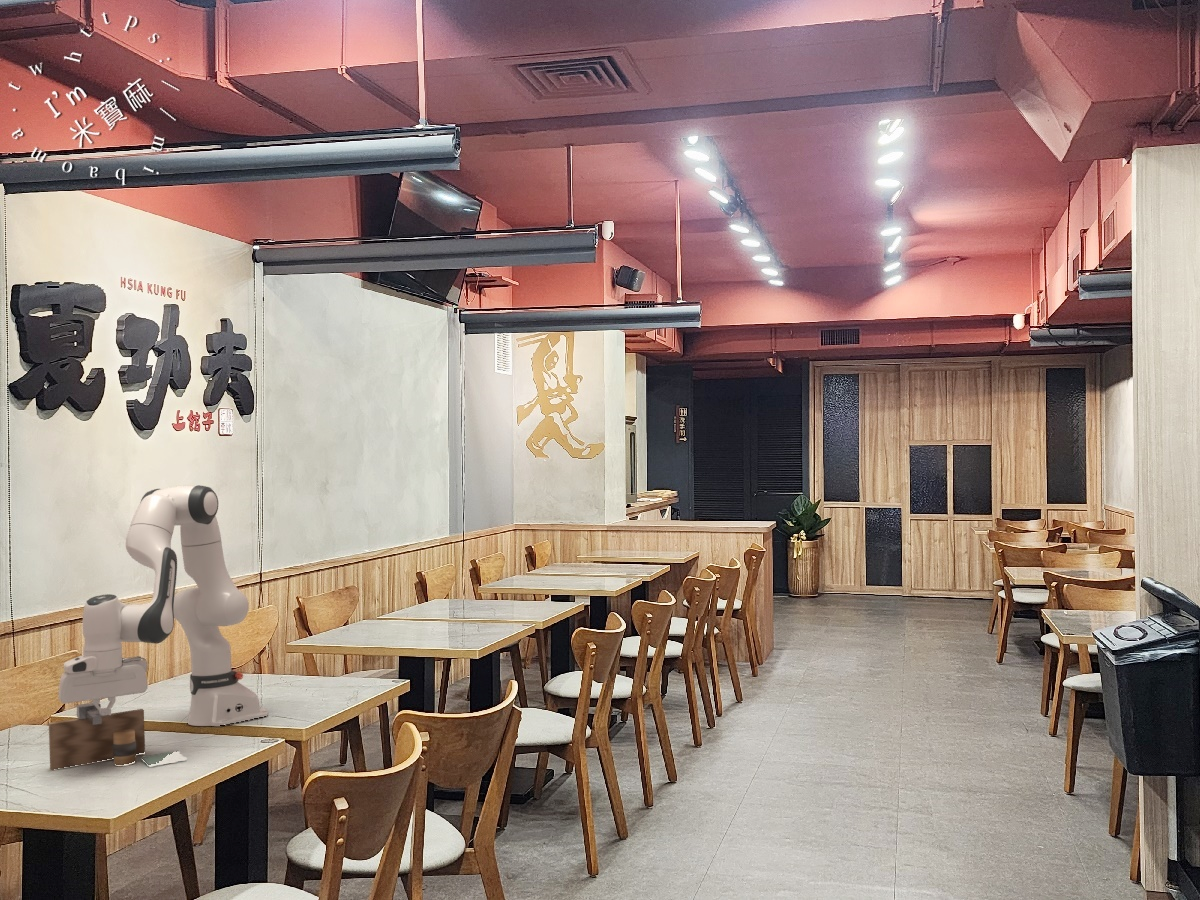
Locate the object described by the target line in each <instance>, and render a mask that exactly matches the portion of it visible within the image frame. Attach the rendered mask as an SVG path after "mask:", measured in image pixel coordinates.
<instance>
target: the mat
mask: <svg viewBox="0 0 1200 900" xmlns="http://www.w3.org/2000/svg"><path fill="white" fill-rule="evenodd" d="M174 751H176V752H177V751H178V750H173V751H168V752H163V753H157V754H152V755H151V754H150V755H145V756H141V757H140V758H142V759H143V760H144V761H145V762H146V763H147V764H148V765H151V764H156V762H157V763H159V761H162V760H163V758H165V757H166V756H167V755H168V754H169V755H170V754H172V753H173V752H174Z"/></svg>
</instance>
